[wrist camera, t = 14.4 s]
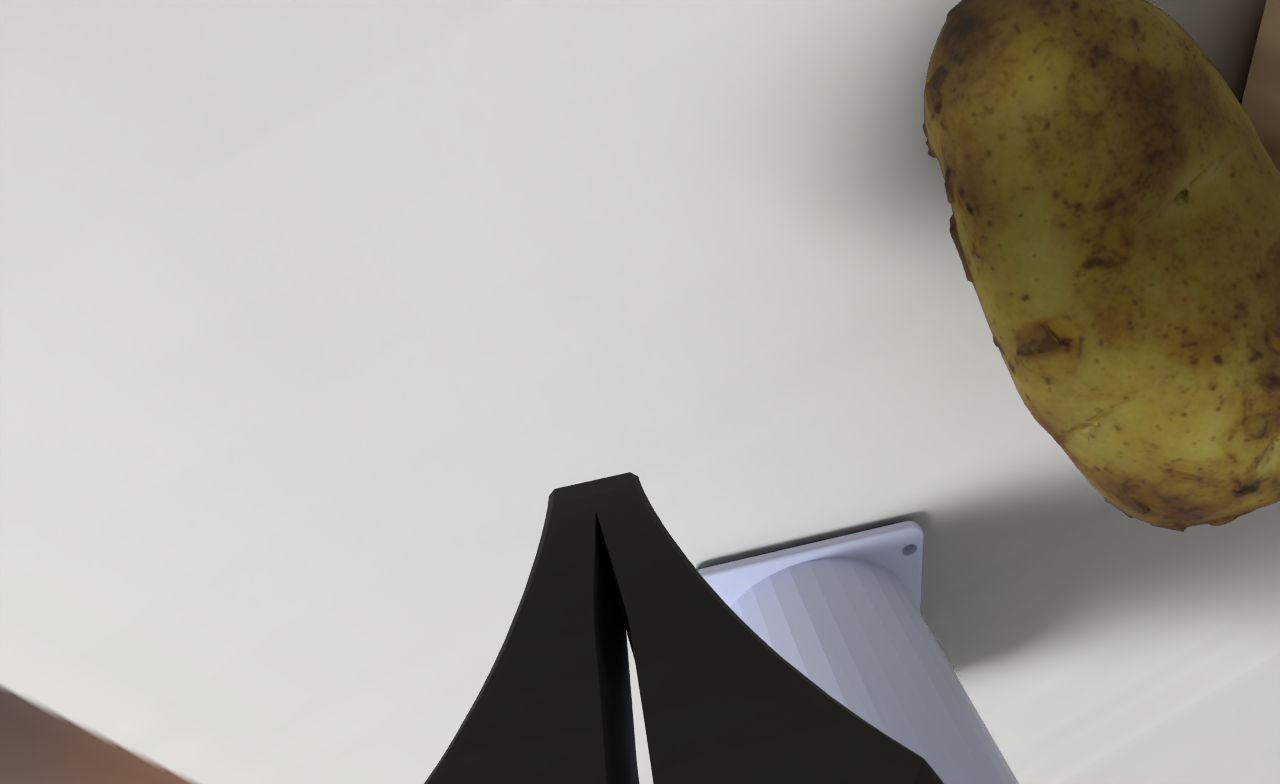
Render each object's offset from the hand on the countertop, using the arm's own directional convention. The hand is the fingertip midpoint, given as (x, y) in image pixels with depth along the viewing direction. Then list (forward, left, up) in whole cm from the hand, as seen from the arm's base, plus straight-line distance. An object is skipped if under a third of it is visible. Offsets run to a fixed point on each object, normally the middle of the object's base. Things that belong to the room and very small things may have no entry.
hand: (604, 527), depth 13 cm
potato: (-1, -13, -10) cm, 16 cm away
